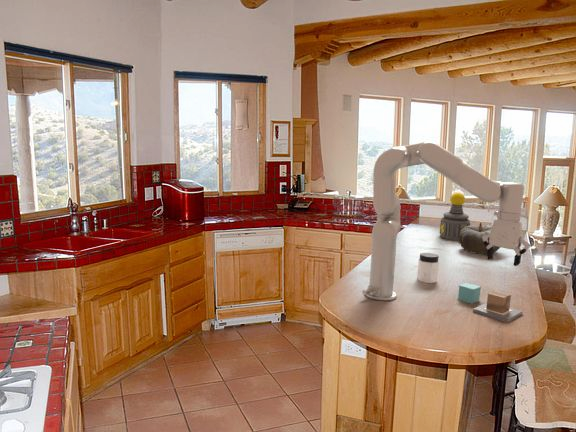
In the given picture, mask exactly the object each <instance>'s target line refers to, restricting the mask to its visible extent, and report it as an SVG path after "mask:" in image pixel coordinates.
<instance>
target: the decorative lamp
mask: <svg viewBox="0 0 576 432" xmlns="http://www.w3.org/2000/svg"><path fill="white" fill-rule="evenodd" d="M449 200H450V201H449V202H450V203H451V206H450V209H449V211H447V212H444V213H443V216H442V217H441V220H440V226H439V236H440V238H442V239H446V240H452V241H459V234H460V232H461V231H462V230H463V229H464V228H465V227H467V226H470V225H471V221H470V219H469V215H468V214H467V213H465V212H464V211H463V210H464V208H463V205H464V203H466V197H465V195H464V194H463V193H461V192H455V193H453V194H451V196H450V199H449Z"/></svg>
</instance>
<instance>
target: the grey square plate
mask: <svg viewBox="0 0 576 432" xmlns="http://www.w3.org/2000/svg"><path fill="white" fill-rule="evenodd" d="M486 307H487V302H485V303H483V304H480V305H478V306H476V307H474V308H472V312H473V313H475V314H479V315H481V316H486V317H488V318H492V319H495V320H498V321H502V322H504V323H509V322H511V321H513V320H514V319H517V318H518V317H520V316H522V315H523V313H524V312H523V310H520V309H516V308H513V307H510V308H509V310H508V311H506V312H504V313H499V312H495V311H492V310H489V309H486Z"/></svg>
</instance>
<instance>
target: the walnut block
mask: <svg viewBox="0 0 576 432" xmlns="http://www.w3.org/2000/svg"><path fill="white" fill-rule="evenodd" d="M511 297H512V294H510V293H506V292H503V291H499V290H493V291H491V292H488V294H487V298H486V300H487V301H486V303H487V307H486V309H489V310H492V311H495V312H499V313H504V312H506V311H508V310H509V308H511V307H510V306H511V299H512V298H511Z"/></svg>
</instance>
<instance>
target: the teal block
mask: <svg viewBox="0 0 576 432" xmlns="http://www.w3.org/2000/svg"><path fill="white" fill-rule="evenodd" d="M458 288H459V289H458V295H457V296H458V297H457V300H458V301H462V302H465V303H468V304H475V303H477V302H480V298H481V297H480V296H481V288H482V287H481V286H480V285H476V284H472V283H468V282H465V283H462V284H460V285H459V286H458Z"/></svg>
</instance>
